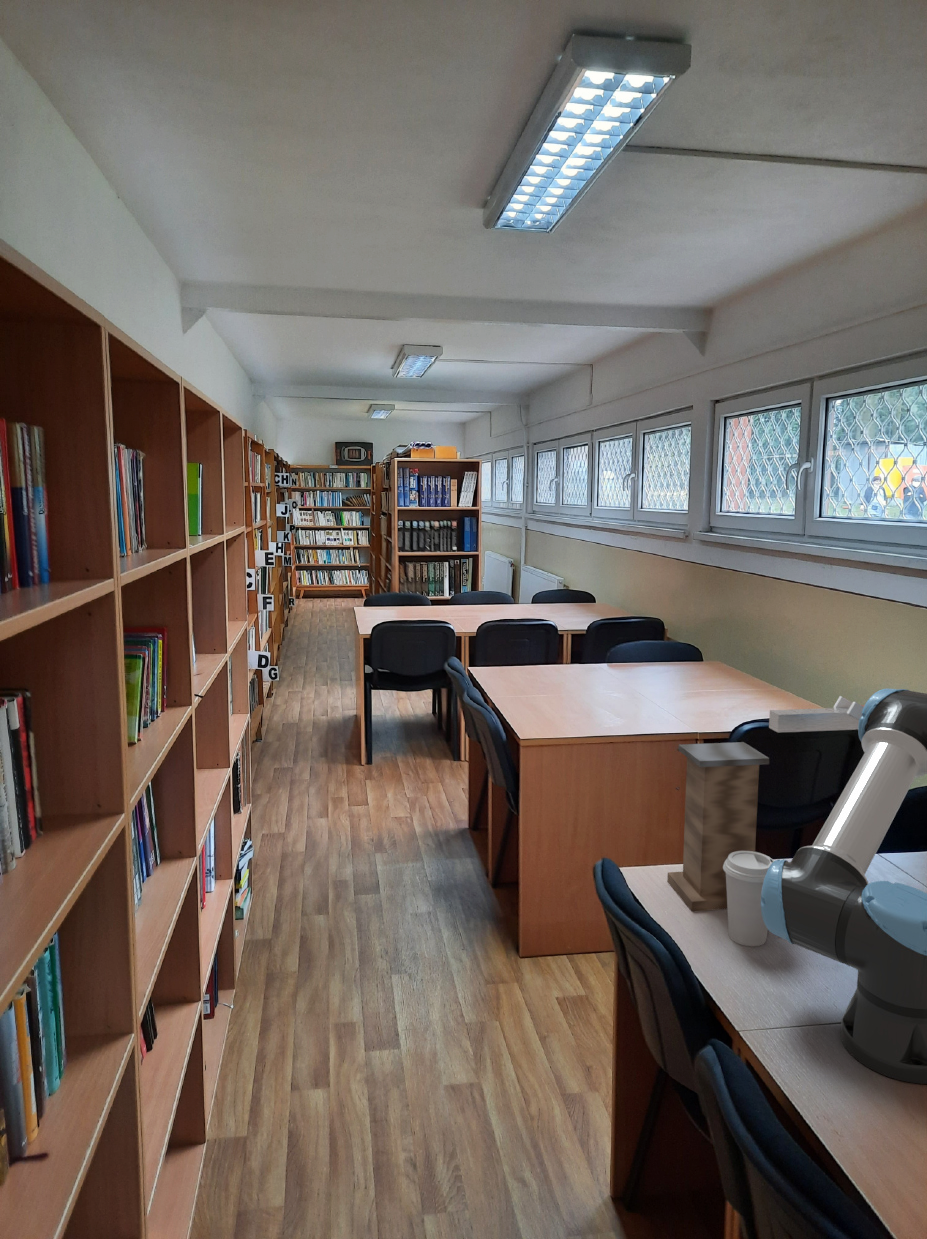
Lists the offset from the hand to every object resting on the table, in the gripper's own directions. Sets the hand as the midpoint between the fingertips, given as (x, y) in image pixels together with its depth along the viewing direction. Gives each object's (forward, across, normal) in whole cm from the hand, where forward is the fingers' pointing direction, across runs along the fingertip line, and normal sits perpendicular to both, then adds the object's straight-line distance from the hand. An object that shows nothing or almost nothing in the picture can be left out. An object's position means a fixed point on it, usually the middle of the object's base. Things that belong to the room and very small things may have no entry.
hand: (844, 704), depth 167 cm
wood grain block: (+1, 0, -6) cm, 6 cm away
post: (+3, 0, -46) cm, 46 cm away
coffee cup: (+4, -17, -47) cm, 50 cm away
